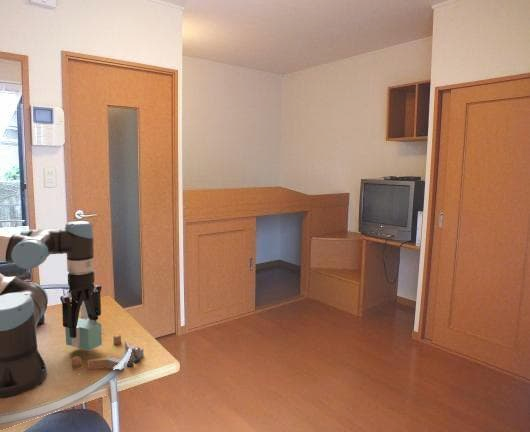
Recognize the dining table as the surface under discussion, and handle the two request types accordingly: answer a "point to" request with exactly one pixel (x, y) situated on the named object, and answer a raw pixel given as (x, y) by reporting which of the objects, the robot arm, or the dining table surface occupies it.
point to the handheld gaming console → (84, 311)
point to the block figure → (104, 361)
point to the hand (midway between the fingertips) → (83, 342)
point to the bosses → (136, 357)
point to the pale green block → (87, 334)
